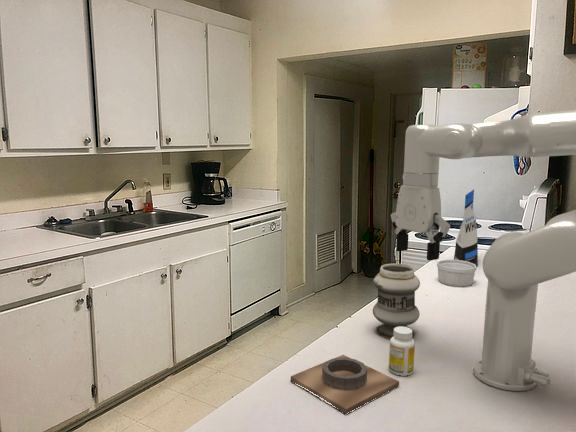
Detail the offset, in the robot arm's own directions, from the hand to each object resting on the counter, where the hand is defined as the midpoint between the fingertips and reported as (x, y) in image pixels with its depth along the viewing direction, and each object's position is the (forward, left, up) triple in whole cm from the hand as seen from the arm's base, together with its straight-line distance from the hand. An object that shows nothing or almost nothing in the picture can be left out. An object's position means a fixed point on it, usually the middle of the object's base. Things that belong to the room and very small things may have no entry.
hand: (416, 254), depth 109 cm
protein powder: (+36, -86, -25) cm, 96 cm away
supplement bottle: (-3, +8, -25) cm, 26 cm away
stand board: (+1, +22, -25) cm, 33 cm away
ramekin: (+25, -61, -25) cm, 70 cm away
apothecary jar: (+11, -8, -25) cm, 28 cm away
